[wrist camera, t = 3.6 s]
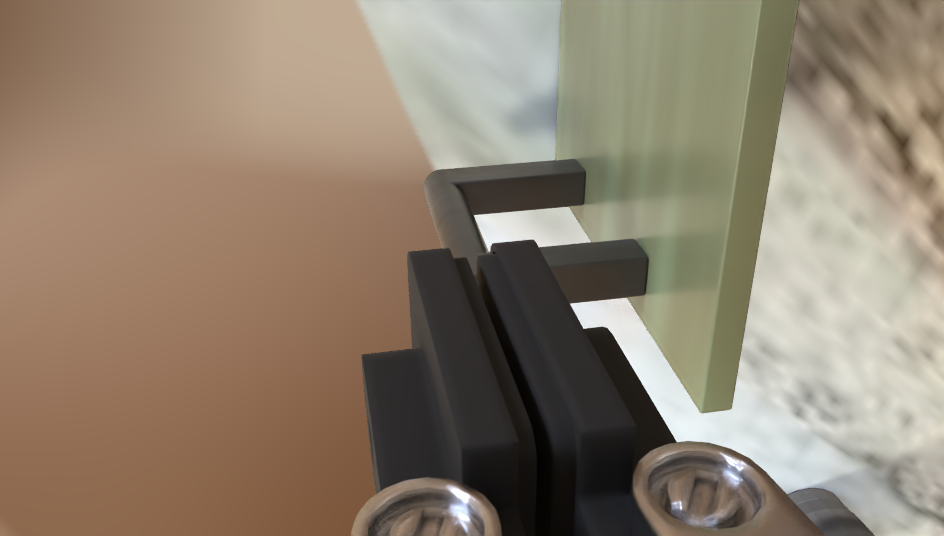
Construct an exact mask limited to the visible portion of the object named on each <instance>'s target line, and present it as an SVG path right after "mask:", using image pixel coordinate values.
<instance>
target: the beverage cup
mask: <svg viewBox="0 0 944 536" xmlns="http://www.w3.org/2000/svg"><path fill="white" fill-rule="evenodd" d="M788 496H789V497H790V498H791V500H792V501H793V502H794V503H795V504H796V505H797V506H798V507H799V508H800V509H801V510H802V511H803V512H804V513H805V514H806V516H807V517H808V518H809V519H810V520H811V521H812V522H813V523H814V524H815V525H816V526H817V527H818V528H819V529H820V530H821V532H822V533H823V534H824V535H825V536H874V535H873V533H872V532H871V531H870V530H869V529H868V528H867V527H866V526H865V525H864V524H863V522H862V521H861V520H860V519H859V518H858V517H857V516H856V515H855V514H854V513H852V512H850V511H849V510H848V509H847V508H846V507H845V506H844V505H843V503H842V502H841V501H840V499H839V498H838V497H837V496H836V495H835V494H834V493H832V492H830V491H827V490H824V489H812V488H810V489H805V490H801V491H796V492H794V493H792V494H790V495H788Z"/></svg>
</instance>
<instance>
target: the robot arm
mask: <svg viewBox="0 0 944 536" xmlns="http://www.w3.org/2000/svg"><path fill="white" fill-rule="evenodd" d="M407 257H408V258H407V263H408V282H409V299H410V317H411V335H412V349H406V350H397V351H389V352H380V353H371V354H364V355H362V369H363V381H364V392H365V403H366V413H367V423H368V432H369V442H370V451H371V460H372V468H373V476H374V483H375V491H376V495H375V496H373V497H372V498H371V499H369V500H368V501H367V503H366V504H365V505H364V507H363V508H362V509H361V510H360V511H359V513H358V514H357V516H356V519H355V522H354V525H353V529H352V532H351V536H825V535H824V534H823V533H822V532H821V530H820V529H819V528H818V527H817V526H816V525H815V524H814V523H813V522H812V521H811V520H810V519H809V518H808V517H807V516H806V514H805V513H804V512H803V511H802V510H801V509H800V508H799V507H798V506H797V505H796V504H795V503H794V502H793V501H792V500H791V498H790V497H789V496H788V495H787V494H786V493H785V492H784V491H783V490H782V489H781V488H780V487H779V486H778V485H777V484H776V482H775V481H774V480H773V479H772V478H771V477H770V476H769V475H768V474H767V473H766V472H765V471H764V470H763V469H762V468H760V467H759V466H758V465H757V464H756V463H754V462H753V461H752V460H751V459H750V458H748V457H746V456H744V455H742V454H740V453H738V452H736V451H734V450H732V449H729V448H726V447H722V446H719V445H715V444H711V443H705V442H692V441H685V442H678V443H677V442H676V440H675V438H674V437H673V435H672V433H671V432H670V430H669V428H668V427H667V425H666V423H665V422H664V420H663V418H662V417H661V415H660V413H659V412H658V410H657V408H656V407H655V405H654V403H653V402H652V400H651V398H650V397H649V395H648V393H647V391H646V390H645V388H644V386H643V385H642V383H641V381H640V380H639V378H638V376H637V375H636V373H635V371H634V370H633V368H632V366H631V365H630V363H629V361H628V360H627V358H626V356H625V355H624V353H623V351H622V350H621V348H620V346H619V345H618V343H617V341H616V340H615V338H614V336H613V335H612V333H611V332H610V331H609V330H608V328H605V327H596V328H587V329H583V327H582V325H581V324H580V322H579V320H578V318H577V316H576V314H575V313H574V311H573V309H572V307H571V305H570V304H569V302H568V300H567V298H566V296H565V294H564V293H563V291H562V289H561V287H560V285H559V284H558V282H557V280H556V278H555V276H554V274H553V273H552V271H551V269H550V267H549V265H548V264H547V262H546V260H545V258H544V256H543V254H542V253H541V251H540V249H539V247H538V245H537V243H536V242H535V241H534V240H523V241H513V242H503V243H493V244H492V246H491V251H490V255H480V256H478V257H477V282H476V280H475V277H474V275H473V272H472V269H471V267H470V264H469V262H468V259H467V257H460V258H453V255H452V253H451V250H450V248H442V249H432V250H423V251H412V252H408V256H407Z"/></svg>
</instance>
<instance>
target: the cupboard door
mask: <svg viewBox="0 0 944 536" xmlns="http://www.w3.org/2000/svg"><path fill="white" fill-rule="evenodd" d="M798 5H799V0H561V20H560V48H559V76H558V103H557V131H556V159H555V160H554V161H542V162H529V163H517V164H504V165H492V166H480V167H467V168H455V169H441V170H436V171H434V172H432V173H431V174H430V175H428V177H427V178H426V180H425V182H424V193H425V196H426V199H427V203H428V206H429V208H430V212H431V215H432V218H433V222H434V225H435V228H436V231H437V234H438V237H439V241H440V244H441V247H442V248H450V250H451V253H452V255H453V258H460V257H467V259H468V262H469V264H470V267H471V269H472V272H473V275H474V277H475V280H476V282H477V257H478V256H480V255H490V252H488V249H487V247H486V244H485V242H484V240H483V237H482V235H481V232H480V230H479V227H478V225H477V223H476V220H475V218H474V215H479V214H491V213H502V212H513V211H524V210H536V209H547V208H558V207H569V208H570V209H571V211H572V213H573V214H574V216H575V217H576V219H577V220H578V222H579V223H580V225H581V227H582V228H583V230H584V231H585V233H586V234H587V236H588V238H589V239H590V241H591V243H580V244H570V245H559V246H549V247H539V249H540V251H541V253H542V254H543V256H544V258H545V260H546V262H547V264H548V265H549V267H550V269H551V271H552V273H553V274H554V276H555V278H556V280H557V282H558V284H559V285H560V287H561V289H562V291H563V293H564V294H565V296H566V298H567V300H568V302H569V304H570V303H580V302H589V301H598V300H608V299H617V298H627V299H628V300H629V302H630V303H631V305H632V306H633V308H634V310H635V311H636V313H637V314H638V316H639V317H640V319H641V320H642V322H643V324H644V325H645V327H646V328H647V330H648V331H649V333H650V335H651V336H652V338H653V339H654V341H655V342H656V344H657V345H658V347H659V349H660V350H661V352H662V353H663V355H664V356H665V358H666V360H667V361H668V363H669V364H670V366H671V367H672V369H673V371H674V372H675V374H676V375H677V377H678V378H679V380H680V381H681V383H682V385H683V386H684V388H685V389H686V391H687V392H688V394H689V396H690V397H691V399H692V400H693V402H694V403H695V405H696V406H697V408H698V410H699V411H700V412H701V413H708V412H716V411H724V410H730V409H731V408H732V403H733V397H734V391H735V385H736V379H737V373H738V367H739V361H740V355H741V349H742V343H743V337H744V331H745V325H746V319H747V313H748V307H749V301H750V295H751V289H752V282H753V276H754V270H755V264H756V258H757V252H758V246H759V240H760V234H761V228H762V222H763V216H764V210H765V204H766V198H767V192H768V186H769V180H770V174H771V168H772V162H773V156H774V150H775V144H776V138H777V132H778V126H779V120H780V114H781V108H782V102H783V96H784V90H785V84H786V78H787V72H788V66H789V59H790V53H791V47H792V41H793V35H794V29H795V23H796V17H797V11H798Z"/></svg>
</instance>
